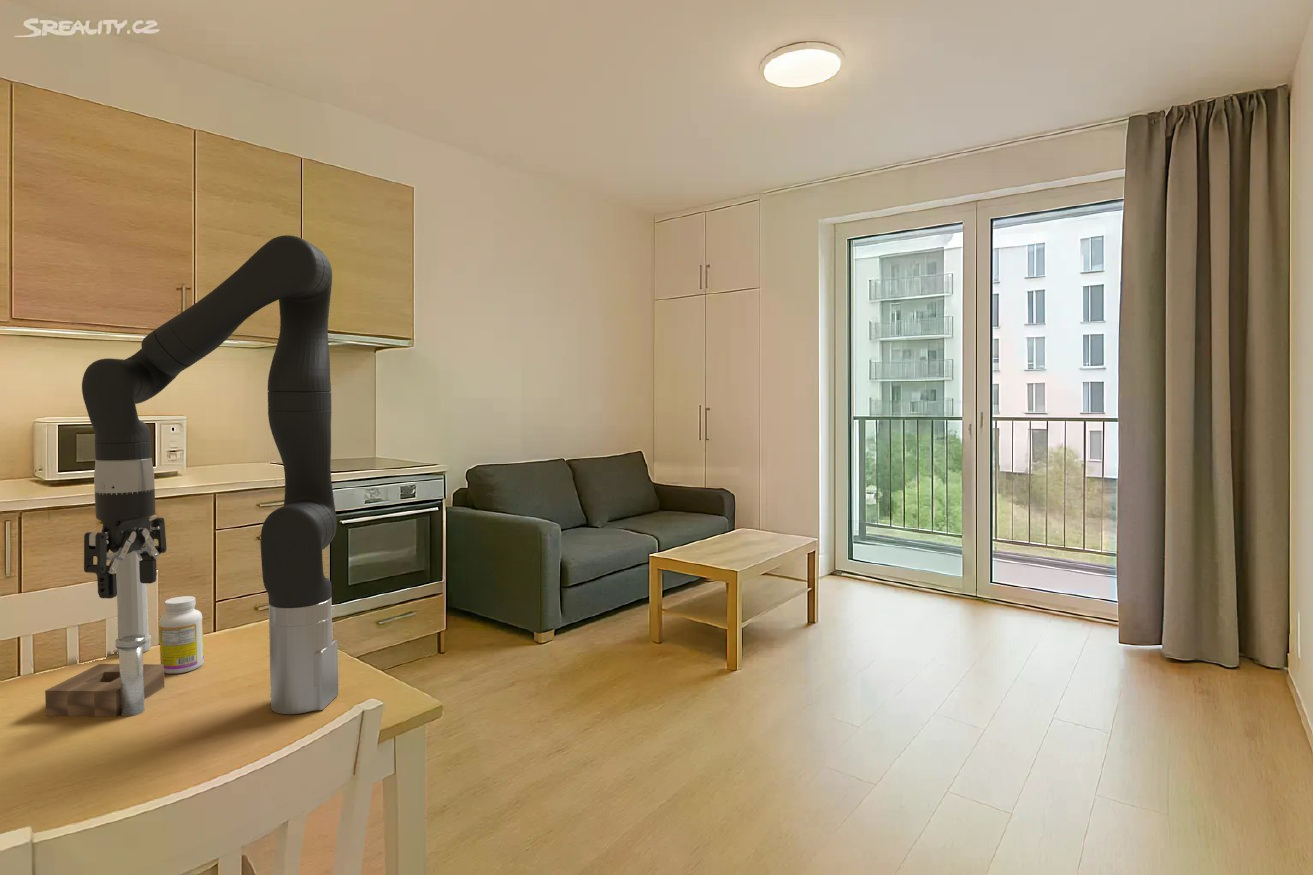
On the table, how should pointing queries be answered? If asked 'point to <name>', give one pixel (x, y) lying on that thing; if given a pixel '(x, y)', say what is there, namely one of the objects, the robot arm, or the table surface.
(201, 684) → the table surface
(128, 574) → the pipe
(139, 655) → the pin
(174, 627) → the supplement bottle
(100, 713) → the socket block
